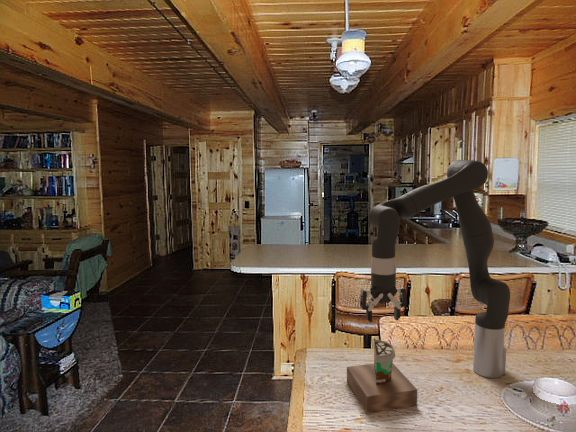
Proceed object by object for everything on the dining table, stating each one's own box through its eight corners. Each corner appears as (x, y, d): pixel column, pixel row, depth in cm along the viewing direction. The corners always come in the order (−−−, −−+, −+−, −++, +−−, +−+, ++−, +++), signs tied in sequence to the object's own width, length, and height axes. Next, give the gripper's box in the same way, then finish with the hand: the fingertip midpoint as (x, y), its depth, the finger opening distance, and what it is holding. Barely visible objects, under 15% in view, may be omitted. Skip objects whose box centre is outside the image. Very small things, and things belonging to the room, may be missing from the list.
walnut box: (391, 377, 143) (391, 361, 143) (416, 408, 126) (417, 389, 125) (346, 383, 140) (346, 366, 140) (367, 415, 123) (367, 396, 122)
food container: (397, 388, 126) (397, 357, 125) (376, 387, 127) (376, 356, 125) (392, 368, 138) (393, 339, 137) (373, 367, 139) (374, 338, 138)
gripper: (401, 266, 133) (400, 314, 135) (357, 268, 131) (357, 317, 134) (410, 272, 125) (409, 323, 128) (364, 275, 124) (364, 326, 126)
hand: (383, 320), depth 131 cm, fingers open, 8 cm apart
